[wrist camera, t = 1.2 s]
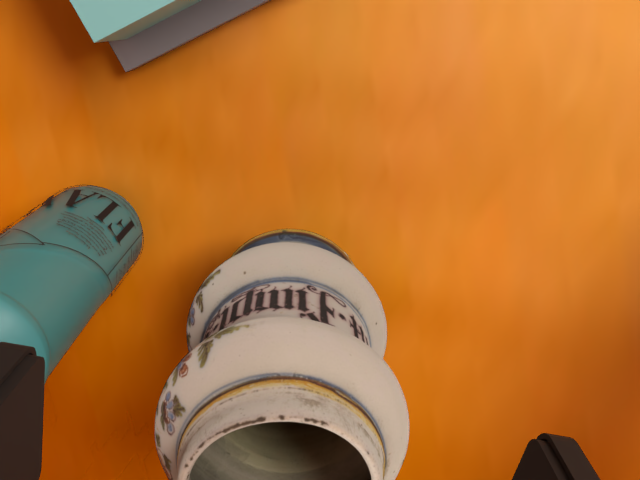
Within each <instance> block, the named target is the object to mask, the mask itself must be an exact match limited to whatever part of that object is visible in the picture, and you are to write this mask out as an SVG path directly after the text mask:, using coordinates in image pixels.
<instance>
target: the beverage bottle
mask: <svg viewBox="0 0 640 480" xmlns="http://www.w3.org/2000/svg"><path fill="white" fill-rule="evenodd" d="M75 186H78V185H75ZM70 187H72V186H70ZM64 189H65V188H64ZM67 189H68V187H67ZM65 190H66V189H65ZM57 193H58V192H57ZM55 194H56V193H55ZM53 196H54V195H52V196H51V197H49V198H48V199H47V200H46V201H45V202H44V203H42V205H43V204H44V205H43V206H41V207H40V208H39V209H37V210H36V211H34V212H32V214H30V213H29V214H30V215H28V213H27V215H24V217H26V216H27V217H26V218H25V219H23V220H22V221H20V222H19V223H17V224H16V225H15V226H13V227H12V228H9V226H7V227H8V228H9V230H7V229H5V230H6V232H4V233H3V230H2V233H3V234H1V233H0V234H1V235H0V342H7V343H13V344H19V345H25V346H31V347H34V348H35V350H36V355H37V356H41V357H43V358H44V360H45V379H44V384H45V382H46V380H47V378H48V376H49V375H50V374H51V372H52V371H53V370H54V368H55V367H56V365H57V364H58V363H59V361H60V360H61V359H62V357H63V356H64V354H65V353H66V352H67V350H68V349H69V348H70V346H71V345H72V343H73V342H74V341H75V339H76V338H77V337H78V335H79V334H80V333H81V331H82V330H83V328H84V327H85V326H86V324H87V323H88V322H89V320H90V319H91V317H92V316H93V315H94V313H95V312H96V311H97V309H98V308H99V307H100V306H101V304H102V303H103V302H104V301H105V300H106V299H107V297H108V296H109V295H110V293H111V292H112V291H113V289H114V288H115V287H116V285H117V284H118V283H119V281H120V280H121V279H122V277H123V276H124V275H125V273H126V272H128V269H129V268H130V267H131V265H132V264H133V263H134V262H135V260H136V259H137V258H138V255H139V254H140V252H141V251H140V249H141V248H142V246H141V245H142V233H143V230H142V226H141V223H140V220H139V217H138V215H137V213H136V212H135V210H134V209H133V207H132V206H131V205H130V204H129V203H128V202H127V201H126V200H125V199H124V198H123V197H121V196H120V195H118V194H117V193H115V192H113V191H111V190H108V189H105V188H102V187H97V186H92V185H89V186H81V187H74V188H73V187H72V188H71V189H68V190H66V191H64V192H62V193H60V194H59V195H57V196H55V197H53ZM52 198H53V199H52ZM39 205H40V204H39ZM39 205H38V206H39ZM38 206H37V207H38ZM35 208H36V207H35ZM35 208H34V209H35ZM34 209H32V210H34ZM32 210H31V211H32ZM29 212H30V211H29ZM22 217H23V216H22ZM14 223H15V222H14ZM14 223H13V224H14ZM10 226H11V224H10ZM5 230H4V231H5ZM143 244H144V237H143ZM142 250H143V249H142ZM141 253H142V252H141ZM140 256H141V255H140ZM137 260H138V259H137ZM137 260H136V261H137ZM135 264H136V263H135ZM132 268H133V267H132ZM129 272H130V271H129ZM126 276H127V275H126ZM121 283H122V282H121ZM118 287H119V286H118ZM114 290H115V289H114ZM115 291H116V290H115ZM111 295H113V294H112V293H111Z"/></svg>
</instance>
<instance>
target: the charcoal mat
mask: <svg viewBox="0 0 640 480" xmlns="http://www.w3.org/2000/svg"><path fill="white" fill-rule="evenodd" d="M268 1H270V0H201V1H199V2H198V3H196V4H194V5H192V6H190V7H188V8H186V9H184V10H182V11H180V12H178V13H176V14H174V15H172V16H170V17H169V18H167V19H165V20H163V21H161V22H159V23H157V24H155V25H153V26H151V27H149V28H147V29H145V30H143V31H141V32H140V33H138V34H136V35H134V36H132V37H130V38H128V39H124V40H115V41H108V42H109V44H110V45H111V47H112V49H113V51H114V52H115V54H116V56H117V58H118V59H119V61H120V63H121V65H122V67H123V68H124V70H125V72H128V71H132V70H134V69H136V68H138V67H140V66H142V65H144V64H146V63H148V62H150V61H152V60H154V59H156V58H158V57H160V56H162V55H164V54H166V53H168V52H170V51H172V50H174V49H176V48H178V47H180V46H182V45H184V44H186V43H188V42H190V41H192V40H194V39H196V38H197V37H199V36H201V35H203V34H205V33H207V32H209V31H211V30H213V29H215V28H217V27H219V26H221V25H223V24H225V23H227V22H229V21H231V20H233V19H235V18H237V17H239V16H241V15H243V14H245V13H247V12H249V11H251V10H253V9H255V8H257V7H259V6H261V5H263V4H265V3H266V2H268Z"/></svg>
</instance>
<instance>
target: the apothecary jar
mask: <svg viewBox="0 0 640 480" xmlns="http://www.w3.org/2000/svg"><path fill="white" fill-rule="evenodd" d="M386 342H387V325H386V318H385V314H384V310H383V307H382V304H381V302H380V300H379V297H378V295H377V294H376V292H375V290H374V289H373V287H372V286H371V284H370V283H369V282H368V280H367V279H366V278H365V277H364V276H363V274H362V273H361V272H360V271H359V270H358V269H356V268H355V266H354V264H353V263H352V261H351V260H350V258H349V257H348V255H347V254H346V253H345V252H344V251H343V250H342V249H341V248H340V247H338V246H337V245H336V244H335V243H333V242H332V241H330V240H328V239H327V238H325V237H323V236H321V235H318V234H316V233H313V232H309V231H305V230H298V229H281V230H275V231H271V232H267V233H264V234H261V235H259V236H257V237H255V238H253V239H251V240H249V241H248V242H246V243H245V244H243V245H242V246H241V247H240V248H239V249H238V250H237V251H236V252H235V253H234V254H233V255H232V257H231V258H230V259H228V260H227V261H225V262H224V263H222V264H221V265H220V266H218V267H217V268H216V269H215V270H214V271H213V272H212V273H211V274H210V275H209V276H208V277H207V278H206V280H205V281H204V282H203V284H202V285H201V287H200V288H199V290H198V292H197V294H196V296H195V298H194V300H193V302H192V305H191V308H190V311H189V315H188V320H187V344H188V350H189V353H188V354H187V355H186V356H185V357H184V358H183V359H182V360H181V361H180V363H179V364H178V365H177V366H176V368H175V369H174V371H173V372H172V373H171V375H170V377H169V378H168V380H167V382H166V384H165V386H164V388H163V391H162V393H161V396H160V399H159V402H158V405H157V410H156V417H155V443H156V449H157V453H158V456H159V459H160V462H161V465H162V467H163V469H164V471H165V473H166V476H167V477H168V479H169V480H395V478H396V477H397V475H398V473H399V471H400V468H401V466H402V464H403V461H404V458H405V455H406V451H407V447H408V441H409V414H408V408H407V404H406V400H405V397H404V394H403V391H402V389H401V387H400V384H399V382H398V380H397V378H396V377H395V375H394V373H393V372H392V370H391V369H390V367H389V366H388V365H387V363H386V362H385V361H384V360H383V357H384V353H385V349H386Z"/></svg>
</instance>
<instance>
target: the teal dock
mask: <svg viewBox="0 0 640 480" xmlns="http://www.w3.org/2000/svg"><path fill="white" fill-rule="evenodd" d="M199 1H201V0H70V2H71V4H72V5H73V7H74V9H75V10H76V12H77V14H78V16H79V17H80V19H81V21H82V23H83V24H84V26H85V28H86V29H87V31H88V33H89V35H90V36H91V38H92V40H93V42H94V43H97V42H106V41H115V40H124V39H128V38H130V37H132V36H134V35H136V34H138V33H140V32H141V31H143V30H145V29H147V28H149V27H151V26H153V25H155V24H157V23H159V22H161V21H163V20H165V19H167V18H169V17H170V16H172V15H174V14H176V13H178V12H180V11H182V10H184V9H186V8H188V7H190V6H192V5H194V4H196V3H198V2H199Z"/></svg>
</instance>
